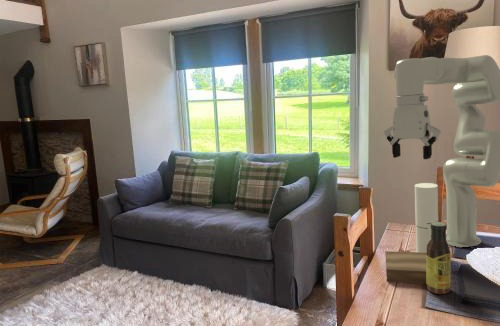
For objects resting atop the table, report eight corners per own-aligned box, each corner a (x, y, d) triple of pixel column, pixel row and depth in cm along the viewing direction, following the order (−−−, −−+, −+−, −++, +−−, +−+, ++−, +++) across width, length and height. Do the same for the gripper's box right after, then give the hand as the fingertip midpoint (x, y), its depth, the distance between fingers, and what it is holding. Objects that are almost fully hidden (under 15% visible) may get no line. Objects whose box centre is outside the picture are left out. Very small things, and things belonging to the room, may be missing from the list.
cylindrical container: (441, 258, 127) (440, 187, 123) (419, 258, 128) (417, 188, 124) (435, 250, 134) (434, 182, 130) (414, 250, 135) (412, 183, 131)
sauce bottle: (441, 297, 103) (440, 229, 100) (421, 288, 109) (420, 224, 106) (456, 290, 106) (455, 224, 103) (436, 282, 112) (435, 218, 109)
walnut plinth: (385, 262, 128) (385, 251, 127) (430, 264, 124) (430, 252, 123) (386, 281, 115) (386, 269, 114) (436, 284, 110) (436, 271, 110)
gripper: (445, 98, 107) (446, 157, 109) (390, 102, 120) (392, 154, 123) (432, 100, 102) (433, 161, 105) (377, 104, 116) (379, 158, 118)
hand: (411, 157), depth 114 cm, fingers open, 9 cm apart
